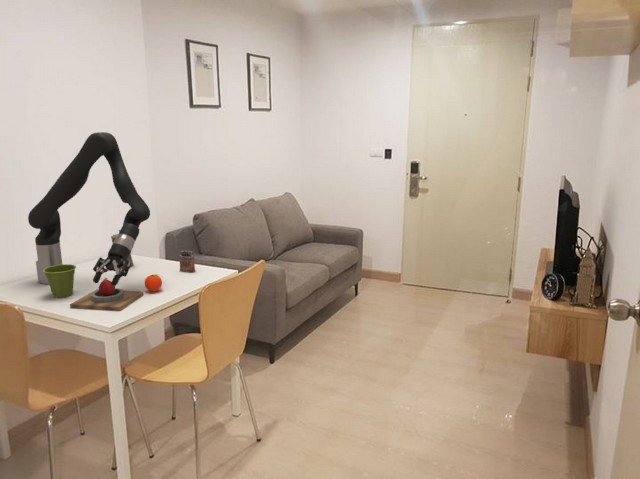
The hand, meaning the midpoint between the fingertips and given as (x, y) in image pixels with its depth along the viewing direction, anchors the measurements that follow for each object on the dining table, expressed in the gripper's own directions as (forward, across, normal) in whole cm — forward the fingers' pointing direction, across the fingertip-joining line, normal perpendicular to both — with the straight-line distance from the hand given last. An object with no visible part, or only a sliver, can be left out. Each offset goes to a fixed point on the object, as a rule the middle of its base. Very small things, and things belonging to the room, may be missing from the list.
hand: (104, 283), depth 193 cm
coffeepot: (-26, -27, +37) cm, 52 cm away
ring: (+3, 0, +5) cm, 6 cm away
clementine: (-7, +9, +18) cm, 22 cm away
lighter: (-28, +6, +39) cm, 48 cm away
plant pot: (+5, -22, +7) cm, 24 cm away
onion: (+3, 0, +6) cm, 6 cm away
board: (+4, 0, +6) cm, 8 cm away
